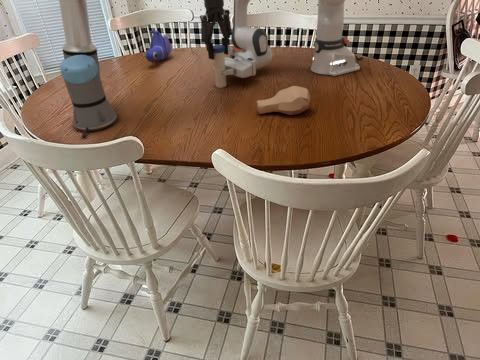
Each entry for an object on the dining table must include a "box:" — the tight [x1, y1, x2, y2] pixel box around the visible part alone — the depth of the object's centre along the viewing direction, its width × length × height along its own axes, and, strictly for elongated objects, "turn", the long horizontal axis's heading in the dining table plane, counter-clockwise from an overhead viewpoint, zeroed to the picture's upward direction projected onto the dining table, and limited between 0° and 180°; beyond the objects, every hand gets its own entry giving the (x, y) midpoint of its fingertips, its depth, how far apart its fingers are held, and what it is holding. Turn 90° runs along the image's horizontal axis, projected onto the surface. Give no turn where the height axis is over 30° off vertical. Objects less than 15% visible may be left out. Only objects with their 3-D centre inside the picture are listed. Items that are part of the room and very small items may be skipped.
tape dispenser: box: [228, 44, 246, 57], centre depth 185 cm, size 18×5×20 cm
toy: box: [144, 30, 172, 67], centre depth 185 cm, size 10×17×25 cm
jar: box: [212, 52, 228, 89], centre depth 152 cm, size 5×5×16 cm
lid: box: [213, 44, 225, 53], centre depth 147 cm, size 6×6×2 cm
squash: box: [255, 85, 312, 116], centre depth 130 cm, size 11×20×9 cm, turn 92°
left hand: (218, 56), depth 149 cm, fingers open, 7 cm apart
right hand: (218, 71), depth 152 cm, fingers closed on jar, 5 cm apart
